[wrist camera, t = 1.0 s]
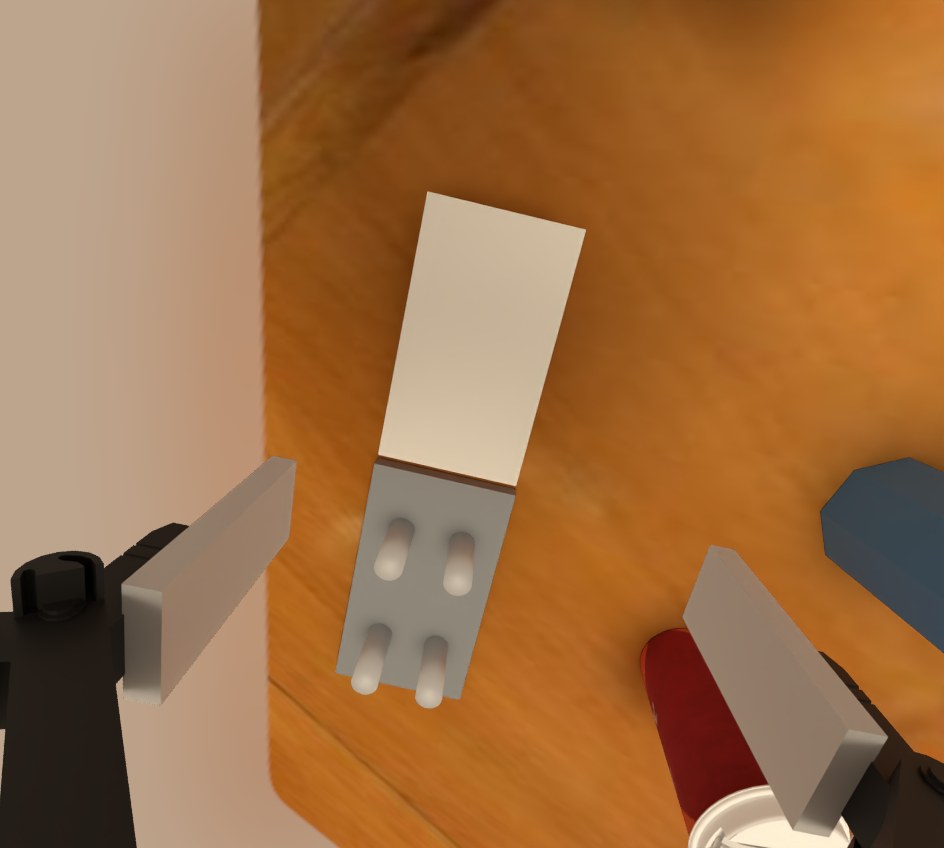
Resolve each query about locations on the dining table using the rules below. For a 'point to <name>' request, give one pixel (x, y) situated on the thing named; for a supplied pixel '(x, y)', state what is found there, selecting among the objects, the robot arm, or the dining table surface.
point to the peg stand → (421, 580)
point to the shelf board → (477, 337)
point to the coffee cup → (714, 756)
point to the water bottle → (893, 539)
